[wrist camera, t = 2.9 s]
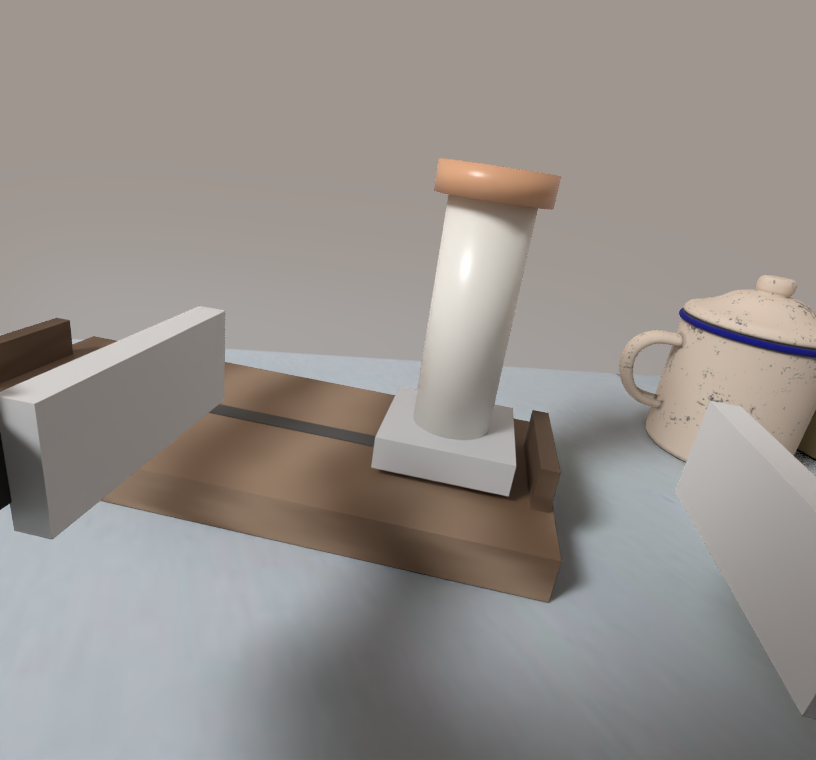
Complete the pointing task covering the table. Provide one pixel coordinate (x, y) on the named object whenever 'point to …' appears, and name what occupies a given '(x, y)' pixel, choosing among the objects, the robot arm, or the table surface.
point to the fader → (468, 333)
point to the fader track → (329, 477)
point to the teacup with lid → (733, 365)
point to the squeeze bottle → (809, 438)
